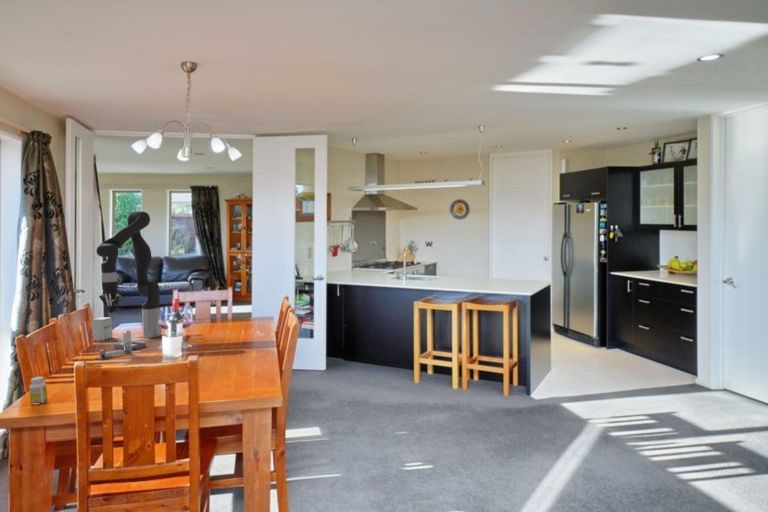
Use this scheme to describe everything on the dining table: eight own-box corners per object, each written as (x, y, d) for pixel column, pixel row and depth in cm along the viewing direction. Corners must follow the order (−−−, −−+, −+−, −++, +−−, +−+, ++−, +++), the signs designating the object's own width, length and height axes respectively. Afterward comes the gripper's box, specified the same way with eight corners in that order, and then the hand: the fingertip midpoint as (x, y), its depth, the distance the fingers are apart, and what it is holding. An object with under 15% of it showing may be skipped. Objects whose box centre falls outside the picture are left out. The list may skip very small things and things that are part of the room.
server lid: (128, 344, 288) (128, 340, 288) (146, 346, 283) (145, 342, 282) (114, 348, 280) (113, 344, 280) (131, 350, 274) (131, 346, 274)
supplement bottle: (43, 399, 199) (42, 375, 199) (50, 402, 196) (48, 377, 195) (28, 403, 195) (26, 378, 194) (34, 406, 192) (32, 381, 191)
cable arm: (100, 357, 258) (99, 335, 257) (99, 356, 261) (98, 334, 260) (132, 353, 267) (131, 331, 266) (131, 351, 270) (129, 330, 269)
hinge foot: (104, 355, 264) (104, 355, 264) (112, 357, 262) (112, 356, 262) (93, 358, 259) (93, 358, 259) (101, 360, 256) (101, 359, 256)
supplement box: (103, 340, 299) (102, 319, 298) (93, 340, 301) (91, 319, 300) (113, 338, 306) (111, 317, 306) (102, 337, 308) (101, 317, 307)
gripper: (125, 279, 277) (127, 311, 279) (104, 279, 280) (106, 310, 282) (114, 281, 270) (117, 314, 272) (93, 281, 273) (96, 313, 275)
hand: (111, 312), depth 277 cm, fingers closed
